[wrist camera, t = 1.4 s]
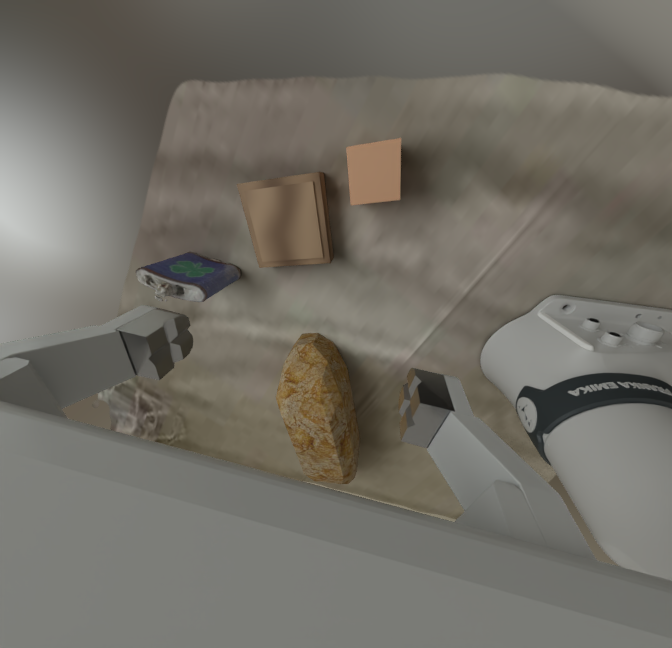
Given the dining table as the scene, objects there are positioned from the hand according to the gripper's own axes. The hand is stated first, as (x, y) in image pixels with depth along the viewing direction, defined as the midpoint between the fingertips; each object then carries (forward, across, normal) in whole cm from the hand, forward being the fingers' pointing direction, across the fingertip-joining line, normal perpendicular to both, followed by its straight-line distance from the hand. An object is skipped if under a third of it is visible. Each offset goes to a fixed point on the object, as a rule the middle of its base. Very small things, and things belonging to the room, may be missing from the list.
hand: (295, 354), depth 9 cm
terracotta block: (+26, -1, -6) cm, 27 cm away
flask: (+26, +21, +9) cm, 35 cm away
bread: (+26, -1, +34) cm, 43 cm away
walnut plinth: (+26, +9, +1) cm, 28 cm away
